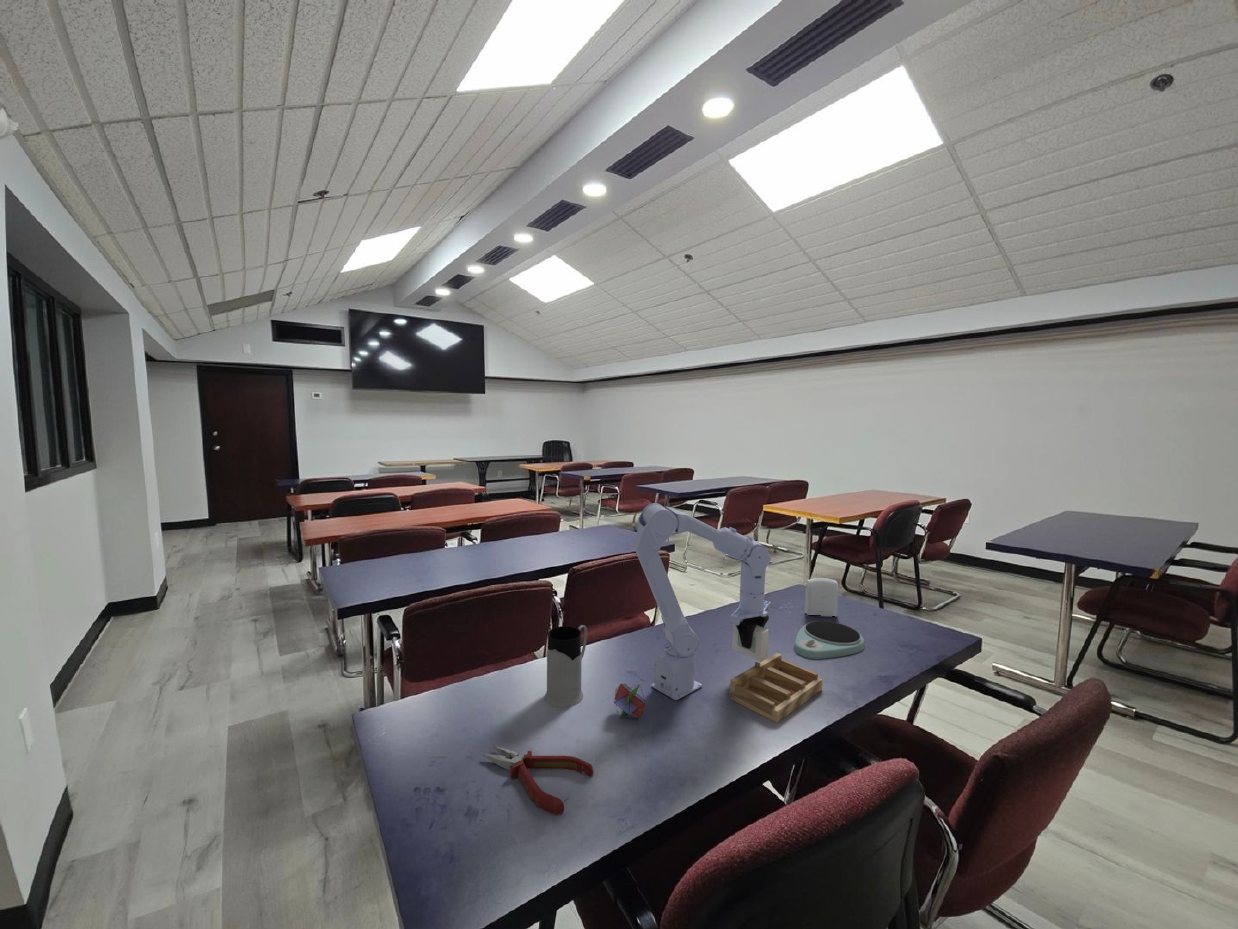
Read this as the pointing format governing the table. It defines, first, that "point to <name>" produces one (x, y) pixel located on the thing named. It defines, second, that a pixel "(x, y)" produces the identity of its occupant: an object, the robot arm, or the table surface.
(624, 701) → the geometric puzzle
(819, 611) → the photo printer
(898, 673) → the table surface
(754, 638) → the white rectangular box
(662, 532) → the robot arm
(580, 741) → the table surface
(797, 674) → the wooden compartment tray
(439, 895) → the table surface
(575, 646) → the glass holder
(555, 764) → the pliers
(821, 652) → the electric hot plate
